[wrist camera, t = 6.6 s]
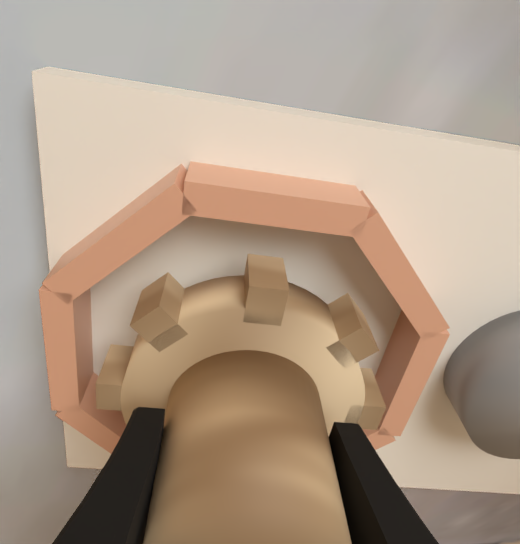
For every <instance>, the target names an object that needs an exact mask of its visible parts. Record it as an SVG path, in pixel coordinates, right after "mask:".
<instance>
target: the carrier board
mask: <svg viewBox="0 0 520 544" xmlns="http://www.w3.org/2000/svg"><path fill="white" fill-rule="evenodd" d="M32 81H33V92H34V103H35V115H36V126H37V137H38V148H39V159H40V170H41V181H42V192H43V203H44V214H45V226H46V237H47V248H48V259H49V270H50V273H49V274H48V276H47V277H46V278H45V280H44V281H43V283H42V284H43V285H42V287H41V288H40V289H39V297H40V306H41V315H42V325H43V334H44V343H45V353H46V362H47V371H48V381H49V390H50V399H51V409H52V410H56V411H57V413H56V415H55V416H57V417H58V418H60V419H61V420H63V425H64V436H65V447H66V459H67V467H75V468H92V469H103V467H104V466H105V464H106V462H107V461H108V459H109V457H110V455H111V454H112V452H113V450H114V448H115V447H116V445H117V443H118V441H119V439H120V437H121V436H122V434H123V432H124V430H125V428H126V423H125V421H124V418H123V414H122V411H117V410H104V409H96V381H97V379H98V376H99V374H100V371H101V368H102V366H103V363H104V360H105V358H106V355H107V353H108V350H109V347H110V345H111V344H113V345H123V346H134V344H135V341H136V338H137V335H138V333H137V332H136V331H135V330H134V329H133V328H131V327H130V323H131V320H132V317H133V314H134V312H135V309H136V306H137V303H138V300H139V297H140V294H141V291H142V290H143V289H144V288H146V287H147V286H149V285H150V284H151V283H153V282H154V281H156V280H157V279H159V278H160V277H162V276H163V275H165V274H166V273H167V272H169V273H170V274H171V275H172V276H173V277H174V278H175V279H176V280H177V282H178V283H179V284H180V285H181V286H182V287H183V288H184V289H185V288H187V287H190V286H192V285H194V284H197V283H200V282H203V281H207V280H210V279H214V278H220V277H226V276H239V275H244V273H245V267H246V261H247V255H248V254H255V255H263V256H271V257H279V258H283V260H284V265H285V270H286V276H287V281H288V282H289V283H293V284H295V285H297V286H299V287H302V288H304V289H306V290H308V291H309V292H311V293H313V294H314V295H316V296H318V297H319V298H320V299H322V300H323V301H324V302H325V303H326V304H329V303H331V302H333V301H335V300H336V299H338V298H340V297H341V296H343V295H345V294H347V293H348V294H349V295H350V296H351V298H352V299H353V300H354V302H355V303H356V304H357V306H358V307H359V308H360V310H361V311H362V312H363V314H364V316H365V318H366V320H367V323H368V325H369V327H370V330H371V332H372V334H373V337H374V339H375V341H376V344H377V346H378V348H379V351H378V352H376V353H374V354H372V355H370V356H368V357H367V358H365V359H363V360H361V361H359V362H358V363H359V366H360V368H370V369H372V371H373V374H374V376H375V379H376V382H377V384H378V387H379V390H380V392H381V395H382V397H383V400H384V403H385V405H386V410H385V412H384V414H383V416H382V419H381V421H380V423H379V426H378V428H377V430H369V429H362V430H363V431H364V433H365V434H366V436H367V438H368V439H369V441H370V442H371V444H372V446H373V447H374V449H375V451H376V452H377V454H378V455H379V457H380V458H381V460H382V462H383V463H384V465H385V466H386V468H387V469H388V471H389V473H390V474H391V476H392V477H393V479H394V480H395V482H396V483H397V485H398V486H399V487H408V488H425V489H442V490H458V491H475V492H492V493H508V494H520V145H515V144H509V143H503V142H497V141H491V140H485V139H479V138H473V137H467V136H461V135H455V134H449V133H443V132H437V131H431V130H425V129H419V128H413V127H407V126H401V125H395V124H389V123H383V122H377V121H371V120H365V119H359V118H353V117H347V116H341V115H335V114H329V113H323V112H317V111H312V110H306V109H300V108H294V107H288V106H282V105H276V104H270V103H264V102H258V101H252V100H246V99H240V98H234V97H228V96H222V95H216V94H210V93H204V92H198V91H192V90H186V89H180V88H174V87H168V86H162V85H156V84H150V83H144V82H138V81H132V80H126V79H120V78H114V77H108V76H102V75H97V74H91V73H85V72H79V71H73V70H67V69H61V68H55V67H49V66H48V67H44V68H41V69H37V70H34V71H32Z"/></svg>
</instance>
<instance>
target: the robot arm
mask: <svg viewBox="0 0 520 544" xmlns="http://www.w3.org/2000/svg"><path fill="white" fill-rule="evenodd" d="M164 418H165V409H161V408H148V407H137V408H136V409H134V410H133V412H132V414H131V417H130V419H129V421H128V423H127V425H126V428H125V430H124V432H123V434H122V436H121V437H120V439H119V441H118V443H117V445H116V447H115V448H114V450H113V452H112V454H111V455H110V457H109V459H108V461H107V462H106V464H105V466H104V467H103V469H102V470H101V472H100V474H99V475H98V477H97V478H96V480H95V482H94V483H93V485H92V486H91V488H90V490H89V491H88V493H87V494H86V496H85V497H84V499H83V500H82V502H81V503H80V505H79V506H78V508H77V509H76V511H75V512H74V513H73V515H72V516H71V518H70V519H69V521H68V522H67V523H66V525H65V526H64V528H63V529H62V531H61V532H60V534H59V535H58V536H57V538H56V539H55V541H54V542H53V543H52V544H143V541H144V536H145V530H146V524H147V518H148V513H149V507H150V501H151V496H152V490H153V484H154V479H155V474H156V469H157V464H158V458H159V453H160V447H161V441H162V436H163V430H164ZM329 442H330V446H331V451H332V455H333V460H334V464H335V469H336V474H337V478H338V483H339V487H340V492H341V496H342V501H343V506H344V510H345V515H346V519H347V524H348V529H349V533H350V538H351V542H352V544H439V543H438V542H437V541H436V539H435V538H434V537H433V535H432V534H431V533H430V531H429V530H428V528H427V527H426V526H425V524H424V523H423V521H422V520H421V519H420V517H419V516H418V514H417V513H416V511H415V510H414V508H413V507H412V505H411V504H410V503H409V501H408V500H407V498H406V497H405V495H404V494H403V492H402V491H401V489H400V488H399V486H398V485H397V483H396V482H395V480H394V479H393V477H392V476H391V474H390V473H389V471H388V469H387V468H386V466H385V465H384V463H383V462H382V460H381V458H380V457H379V455H378V454H377V452H376V451H375V449H374V447H373V446H372V444H371V442H370V441H369V439H368V438H367V436H366V434H365V433H364V431H363V430H362V428H361V427H360V425H359V424H355V423H342V422H334V424H333V426H332V429H331V432H330V435H329Z"/></svg>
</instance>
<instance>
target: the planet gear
mask: <svg viewBox="0 0 520 544" xmlns="http://www.w3.org/2000/svg"><path fill="white" fill-rule="evenodd" d="M130 327H131V328H133V329H134V330H135V331H136V332H137V333H138V335H137V338H136V341H135V344H134V346H123V345H113V344H111V345H110V347H109V350H108V353H107V355H106V358H105V360H104V363H103V366H102V368H101V371H100V374H99V376H98V379H97V381H96V409H104V410H117V411H122V414H123V418H124V421H125V423H126V425H127V423H128V421H129V419H130V417H131V414H132V412H133V410H134V409H136V408H137V407H148V408H161V409H165V418H164V430H163V436H162V441H161V447H160V453H159V458H158V464H157V469H156V474H155V479H154V484H153V490H152V496H151V501H150V507H149V513H148V518H147V524H146V530H145V536H144V541H143V544H352V542H351V538H350V533H349V529H348V524H347V519H346V515H345V510H344V506H343V501H342V496H341V492H340V487H339V483H338V478H337V474H336V469H335V464H334V460H333V455H332V451H331V446H330V442H329V435H330V432H331V429H332V426H333V424H334V422H342V423H355V424H359V425H360V427H361V428H362V429H369V430H377V428H378V426H379V423H380V421H381V419H382V416H383V414H384V412H385V410H386V405H385V403H384V400H383V397H382V395H381V392H380V390H379V387H378V384H377V382H376V379H375V376H374V374H373V371H372V369H370V368H360V366H359V363H358V362H359V361H361V360H363V359H365V358H367V357H368V356H370V355H372V354H374V353H376V352H378V351H379V348H378V346H377V344H376V341H375V339H374V337H373V334H372V332H371V330H370V327H369V325H368V323H367V320H366V318H365V316H364V314H363V312H362V311H361V310H360V308H359V307H358V306H357V304H356V303H355V302H354V300H353V299H352V298H351V296H350V295H349V294H348V293H347V294H345V295H343V296H341V297H340V298H338V299H336V300H335V301H333V302H331V303H329V304H326V303H325V302H324V301H323V300H322V299H320V298H319V297H318V296H316V295H314V294H313V293H311V292H309V291H308V290H306V289H304V288H302V287H299V286H297V285H295V284H293V283H289V282H288V281H287V276H286V270H285V265H284V260H283V258H279V257H271V256H263V255H255V254H248V255H247V261H246V267H245V273H244V275H239V276H226V277H220V278H214V279H210V280H207V281H203V282H200V283H197V284H194V285H192V286H190V287H187V288H185V289H184V288H183V287H182V286H181V285H180V284H179V283H178V282H177V280H176V279H175V278H174V277H173V276H172V275H171V274H170V273H169V272H167V273H166V274H165V275H163V276H162V277H160V278H159V279H157V280H156V281H154V282H153V283H151V284H150V285H149V286H147V287H146V288H144V289H143V290H142V291H141V294H140V297H139V300H138V303H137V306H136V309H135V312H134V314H133V317H132V320H131V323H130Z"/></svg>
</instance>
